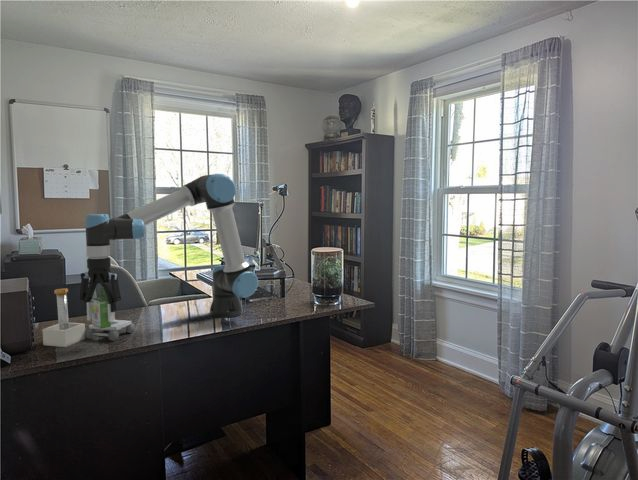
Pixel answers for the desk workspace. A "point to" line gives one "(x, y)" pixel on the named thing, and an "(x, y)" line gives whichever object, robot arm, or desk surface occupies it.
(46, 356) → the desk surface
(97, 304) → the ink box
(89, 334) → the cart
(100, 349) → the desk surface
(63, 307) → the orange capped clear tube
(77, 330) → the tray
